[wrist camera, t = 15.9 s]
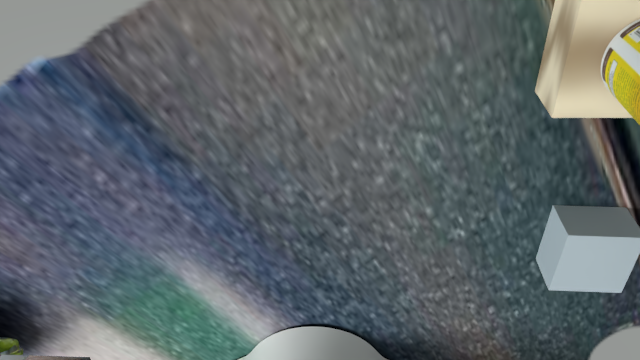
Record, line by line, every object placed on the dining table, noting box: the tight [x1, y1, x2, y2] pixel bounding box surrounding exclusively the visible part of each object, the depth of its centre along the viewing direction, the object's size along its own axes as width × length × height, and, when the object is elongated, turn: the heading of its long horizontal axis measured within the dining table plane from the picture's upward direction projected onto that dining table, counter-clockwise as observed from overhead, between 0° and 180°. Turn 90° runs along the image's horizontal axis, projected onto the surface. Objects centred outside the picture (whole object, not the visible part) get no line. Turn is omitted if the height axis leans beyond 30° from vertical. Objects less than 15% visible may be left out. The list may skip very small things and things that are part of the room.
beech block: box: [535, 0, 640, 118], centre depth 36 cm, size 9×9×4 cm
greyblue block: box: [536, 205, 640, 293], centre depth 47 cm, size 6×6×4 cm
